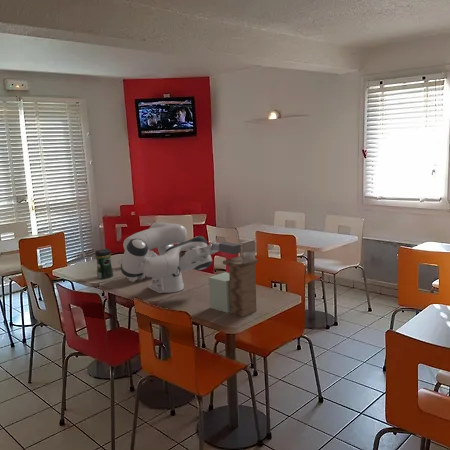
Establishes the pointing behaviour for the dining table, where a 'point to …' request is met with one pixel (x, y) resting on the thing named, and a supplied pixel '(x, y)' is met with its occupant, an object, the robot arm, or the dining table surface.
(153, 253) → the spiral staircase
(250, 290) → the brown wooden tower
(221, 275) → the sage step
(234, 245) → the plug
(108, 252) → the coffee jar
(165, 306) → the dining table surface
